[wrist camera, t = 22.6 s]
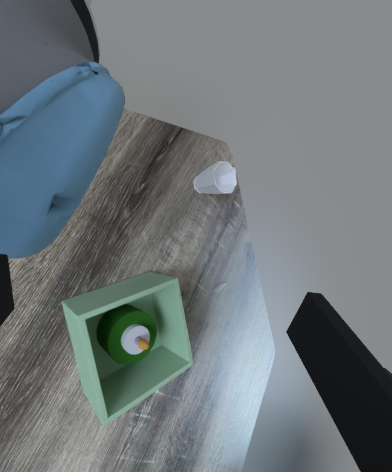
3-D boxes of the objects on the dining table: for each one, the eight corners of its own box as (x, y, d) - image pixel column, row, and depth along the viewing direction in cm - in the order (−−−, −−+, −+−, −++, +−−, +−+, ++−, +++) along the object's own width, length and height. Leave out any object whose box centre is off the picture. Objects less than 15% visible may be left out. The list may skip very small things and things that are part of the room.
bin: (61, 300, 38) (77, 316, 30) (149, 271, 48) (178, 277, 40) (83, 391, 40) (103, 427, 32) (163, 345, 49) (193, 364, 42)
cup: (183, 176, 53) (208, 167, 47) (212, 159, 58) (237, 150, 52) (196, 204, 55) (222, 200, 49) (223, 186, 61) (248, 180, 54)
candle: (130, 356, 44) (158, 381, 36) (87, 346, 39) (108, 373, 32) (148, 311, 46) (179, 325, 39) (110, 297, 42) (135, 311, 34)
